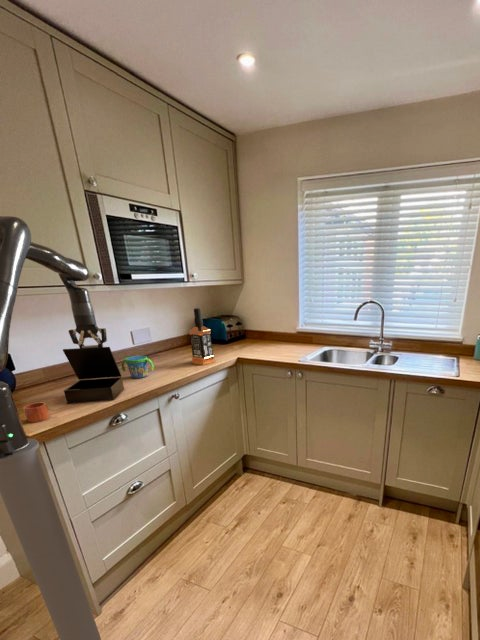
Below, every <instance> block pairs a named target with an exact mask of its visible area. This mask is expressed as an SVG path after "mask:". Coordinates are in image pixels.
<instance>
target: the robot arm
mask: <svg viewBox="0 0 480 640" xmlns="http://www.w3.org/2000/svg"><path fill="white" fill-rule="evenodd" d="M26 260H29V261H32V262H33V263H37V264H39V265H41V266H43V267H45V268H46V269H48V270H50V271H52V272H54V273H56V274H58V276H59V279H60V280H61V282H62V284H63V285H64V287H65V289H66V292H67V293H68V297H69V301H70V305H71V306H70V308H71V313H72V316H73V321H74V323H75V329H69V330H68V334H69V337H70V339H71V341H72V344H74V345H77V346H78V347H79V348H82V346H85V344H84V343H85V340H86V339H88V338H89V339H93V340H94V341H95V342H96V343H97V345H98V347H104V344H105V343H106V342H107V341H108V338H107V329H106V328H105V327H103V328H102V327H101V328H99V327H98V325H97V320H96V316H95V310H94V307H93V305H92V301H91V297H90V293H89V290H88V289H87V288H85V287H81V286H78V285H77V283H76V282H86V281H88V279H89V278H90V270H89V269H88V267H87V265H85V264H84V263H82V262H81V261H78V260H75V259H74V258H71V257H67V256H64V255H63V254H62V253H59V251H56V250H54V249H52V248H51V247H48V246H45V245H42V244H38V243H36V242H32V233H31V229H30V227H29V226H28V224H27V222H25V220H23V219H22V218H20V217H17V216H14V215H0V372H2V371H3V370H4V369H5V368H6V365H7V363H8V359H9V358H8V357H9V348H10V347H9V346H10V331H11V330H10V329H11V323H12V318H13V312H14V308H15V304H16V300H17V295H18V290H19V289H18V288H19V284H20V279H21V275H22V271H23V267H24V264H25V262H26ZM98 332H99V334H100V336H101V337H100V336H99V334H98ZM77 334H78V335H79V337H78V336H77ZM27 438H28V436H27V433H26V431H25V428H24V425H23V422H22V419H21V416H20V413H19V411H18V407H17V406H16V402H15V399H14V396H13V393H12V390H11V388H10V385H9V384H8V383H6V382H4V381H0V457H1V458H3V457H4V455H13V454H14V453H16V452H18V451H21V450H23V449H25V448H26V447H28V446H29V444H30V443H29V441H28V439H27Z"/></svg>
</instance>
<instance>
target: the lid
mask: <svg viewBox="0 0 480 640" xmlns="http://www.w3.org/2000/svg"><path fill="white" fill-rule="evenodd" d="M62 352H63V354H64V355H65V357H66V359H67V361H68V363H69V364H70V366H71V368H72V370H73V372H74V374H75V375H76V377H77V379H78V381H79V380H87V379H101V378H116V377H122V373H121V371H120V368H119V366H118V363H117V361H116V359H115V357H114V354H113V352H112V349H111V347H110V346H103V347H98V344H91V345H90V344H89V345H84V346H82V348H77V347H76V348H63V349H62Z"/></svg>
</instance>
